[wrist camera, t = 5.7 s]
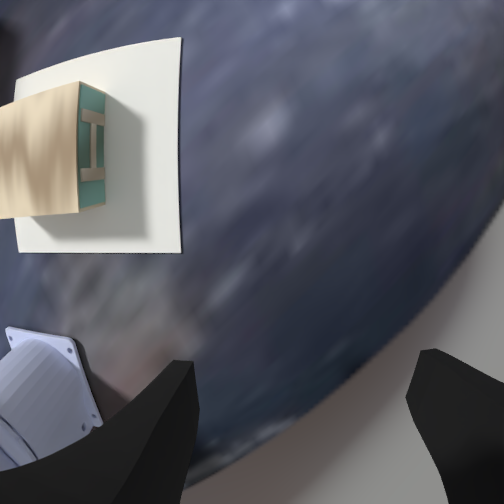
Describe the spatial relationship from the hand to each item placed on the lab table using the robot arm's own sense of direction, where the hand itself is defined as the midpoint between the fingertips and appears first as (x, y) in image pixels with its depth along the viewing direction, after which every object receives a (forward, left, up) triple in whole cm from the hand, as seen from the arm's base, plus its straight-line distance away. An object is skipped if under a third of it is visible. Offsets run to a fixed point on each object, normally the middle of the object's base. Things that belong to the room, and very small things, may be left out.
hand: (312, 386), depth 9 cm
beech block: (+8, +10, -8) cm, 16 cm away
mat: (+8, +12, -10) cm, 18 cm away
